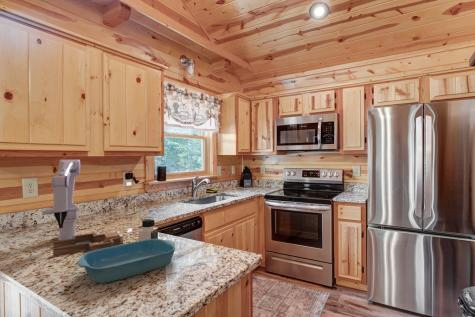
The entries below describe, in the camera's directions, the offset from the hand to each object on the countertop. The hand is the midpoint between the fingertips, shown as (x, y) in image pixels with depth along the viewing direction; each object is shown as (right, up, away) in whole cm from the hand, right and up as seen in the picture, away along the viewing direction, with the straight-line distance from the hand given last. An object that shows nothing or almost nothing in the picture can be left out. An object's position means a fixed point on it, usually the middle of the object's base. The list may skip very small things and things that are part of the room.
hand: (60, 227), depth 127 cm
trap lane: (+12, -9, +1) cm, 16 cm away
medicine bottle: (+41, -10, +5) cm, 43 cm away
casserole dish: (+44, -10, -24) cm, 51 cm away
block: (+22, -10, +7) cm, 25 cm away
